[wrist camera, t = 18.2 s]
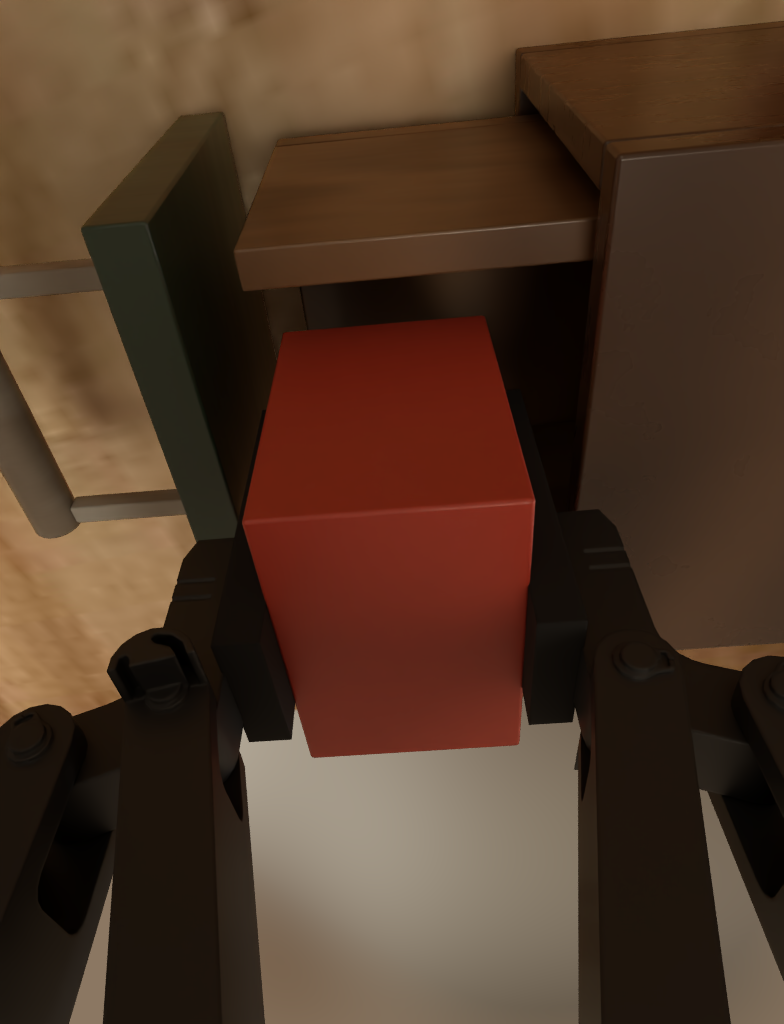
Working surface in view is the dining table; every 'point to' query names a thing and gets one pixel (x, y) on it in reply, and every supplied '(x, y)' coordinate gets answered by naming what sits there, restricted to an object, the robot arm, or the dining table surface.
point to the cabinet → (682, 314)
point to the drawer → (314, 288)
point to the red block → (394, 537)
